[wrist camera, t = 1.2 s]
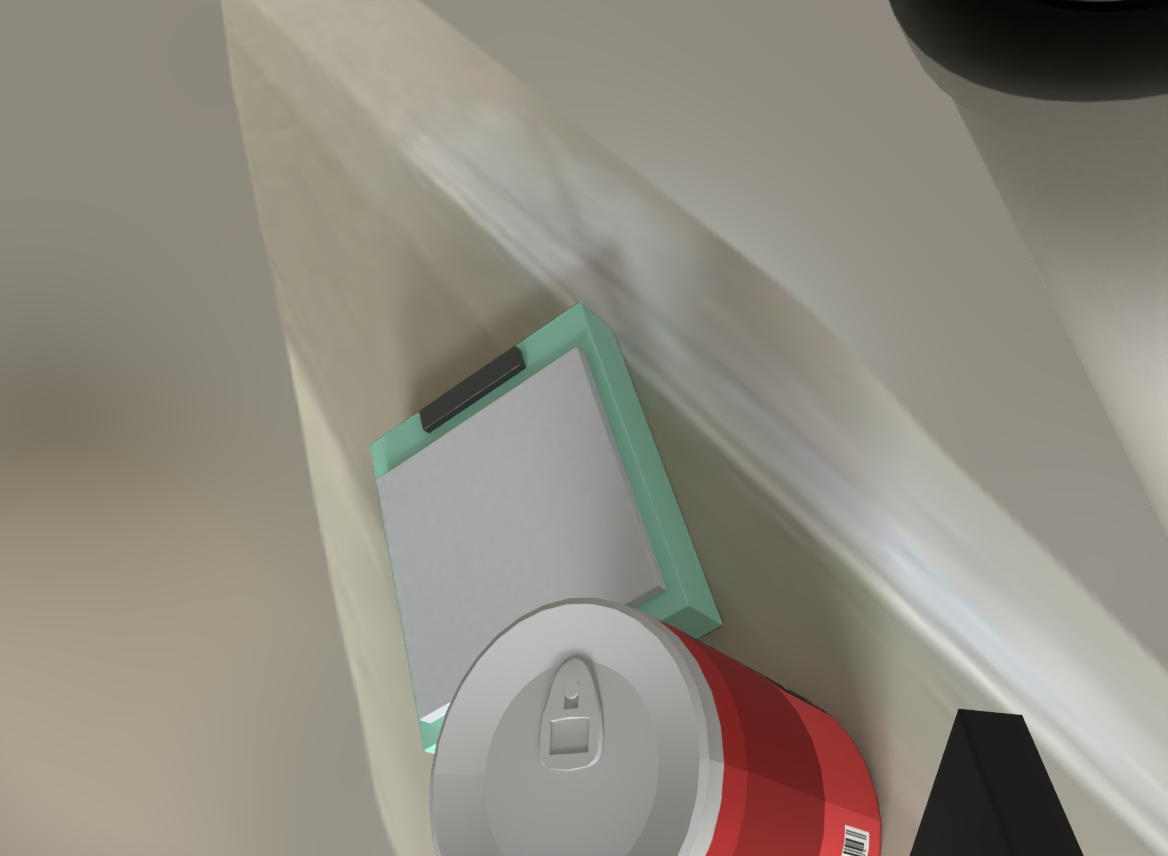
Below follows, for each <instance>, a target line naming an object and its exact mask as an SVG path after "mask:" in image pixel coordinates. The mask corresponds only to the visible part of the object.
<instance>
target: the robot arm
mask: <svg viewBox="0 0 1168 856" xmlns="http://www.w3.org/2000/svg"><path fill="white" fill-rule="evenodd" d="M1034 1H1037V2H1039V3H1042V4H1046V5H1050V6H1054V7H1057V8H1063V9H1069V10H1076V11H1090V12H1119V11H1129V10H1140V9H1146V8H1152V7H1158V6H1164V5H1168V0H1034ZM910 856H1083V853H1082V851H1081V849H1080V847H1079V844H1078V842H1077V840H1076V837H1075V835H1074V833H1073V830H1072V828H1071V826H1070V824H1069V821H1068V819H1067V817H1066V814H1065V812H1064V810H1063V808H1062V805H1061V803H1060V801H1059V798H1058V796H1057V794H1056V792H1055V789H1054V787H1053V785H1052V782H1051V780H1050V778H1049V776H1048V773H1047V771H1046V769H1045V766H1044V764H1043V762H1042V760H1041V757H1040V755H1039V753H1038V750H1037V748H1036V746H1035V744H1034V741H1033V739H1032V737H1031V734H1030V732H1029V730H1028V728H1027V725H1026V723H1025V721H1024V718H1023V716H1022V715H1016V714H1006V713H996V712H985V711H975V710H965V709H958V712H957V715H956V718H955V721H954V724H953V727H952V730H951V733H950V736H949V739H948V742H947V745H946V748H945V751H944V754H943V757H942V760H941V763H940V766H939V769H938V772H937V775H936V778H935V781H934V784H933V787H932V790H931V793H930V796H929V799H928V802H927V805H926V808H925V811H924V814H923V817H922V820H921V823H920V826H919V829H918V832H917V835H916V838H915V841H914V844H913V847H912V850H911V853H910Z"/></svg>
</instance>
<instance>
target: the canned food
mask: <svg viewBox="0 0 1168 856" xmlns="http://www.w3.org/2000/svg"><path fill="white" fill-rule="evenodd" d="M430 817H431V827H432V836H433V843H434V847H435V850H436V854H437V856H881V830H882V825H881V818H880V812H879V805H878V798H877V795H876V792H875V789H874V786H873V784H872V781H871V778H870V775H869V772H868V769H867V766H866V764H865V762H864V760H863V758H862V757H861V755H860V753H859V751H858V749H857V748H856V746H855V744H854V742H853V740H852V739H851V738H850V737H849V736H848V734H847V733H846V732H845V731H844V729H843V728H842V727H841V726H840V725H839V723H838V722H837V721H836V720H835V719H834V718H832V717H831V716H830V715H829V714H828V713H826V712H825V711H824V710H823V709H821V708H820V707H819V706H818V705H816V704H815V703H813V702H811V701H809V700H807V699H805V698H804V697H802V696H800V695H798V694H796V693H794V692H793V691H791V690H789V689H787V688H785V687H783V686H782V685H780V684H778V683H776V682H774V681H772V680H771V679H769V678H767V677H765V676H763V675H761V674H760V673H758V672H756V671H754V670H752V669H750V668H749V667H747V666H745V665H743V664H741V663H740V662H738V661H736V660H734V659H732V658H730V657H729V656H727V655H725V654H723V653H721V652H719V651H718V650H716V649H714V648H712V647H710V646H708V645H707V644H705V643H703V642H701V641H699V640H697V639H696V638H694V637H692V636H690V635H688V634H686V633H685V632H683V631H681V630H679V629H677V628H675V627H673V626H671V625H669V624H667V623H665V622H663V621H661V620H659V619H657V618H654V617H652V616H650V615H648V614H646V613H644V612H642V611H640V610H638V609H636V608H634V607H631V606H627V605H623V604H621V603H618V602H613V601H609V600H604V599H600V598H595V597H592V598H568V599H564V600H560V601H557V602H553V603H549V604H545V605H543V606H541V607H539V608H537V609H535V610H533V611H531V612H529V613H527V614H525V615H523V616H521V617H519V618H518V619H517V620H515V621H514V622H513V623H512V624H510V625H509V626H508V627H506V628H505V629H504V630H503V631H501V632H500V633H499V634H497V635H496V637H495V638H494V639H493V640H492V641H491V642H490V643H489V644H488V645H487V646H486V648H485V649H484V650H483V651H482V652H481V653H480V654H479V655H478V656H477V658H476V659H475V661H474V662H473V664H472V665H471V667H470V668H469V670H468V671H467V673H466V674H465V676H464V677H463V679H462V680H461V682H460V684H459V686H458V688H457V690H456V692H455V694H454V696H453V698H452V700H451V702H450V705H449V707H448V709H447V711H446V714H445V717H444V720H443V723H442V726H441V730H440V733H439V736H438V739H437V742H436V748H435V754H434V759H433V765H432V771H431V782H430Z"/></svg>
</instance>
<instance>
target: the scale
mask: <svg viewBox="0 0 1168 856" xmlns="http://www.w3.org/2000/svg"><path fill="white" fill-rule="evenodd" d="M370 450H371V456H372V461H373V467H374V472H375V478H376V484H377V489H378V495H379V500H380V506H381V512H382V517H383V523H384V529H385V534H386V540H387V545H388V551H389V557H390V562H391V568H392V574H393V579H394V585H395V590H396V596H397V602H398V607H399V613H400V618H401V624H402V630H403V635H404V641H405V647H406V652H407V658H408V663H409V669H410V675H411V680H412V686H413V691H414V697H415V703H416V708H417V714H418V720H419V725H420V731H421V736H422V742H423V748H424V751H425V752H429V753H433V754H435V748H436V742H437V739H438V736H439V733H440V730H441V726H442V723H443V720H444V717H445V714H446V711H447V709H448V707H449V705H450V702H451V700H452V698H453V696H454V694H455V692H456V690H457V688H458V686H459V684H460V682H461V680H462V679H463V677H464V676H465V674H466V673H467V671H468V670H469V668H470V667H471V665H472V664H473V662H474V661H475V659H476V658H477V656H478V655H479V654H480V653H481V652H482V651H483V650H484V649H485V648H486V646H487V645H488V644H489V643H490V642H491V641H492V640H493V639H494V638H495V637H496V635H497V634H499V633H500V632H501V631H503V630H504V629H505V628H506V627H508V626H509V625H510V624H512V623H513V622H514V621H515V620H517V619H518V618H519V617H521V616H523V615H525V614H527V613H529V612H531V611H533V610H535V609H537V608H539V607H541V606H543V605H545V604H549V603H553V602H557V601H560V600H564V599H568V598H592V597H595V598H600V599H604V600H609V601H613V602H618V603H621V604H623V605H627V606H631V607H634V608H636V609H638V610H640V611H642V612H644V613H646V614H648V615H650V616H652V617H654V618H657V619H659V620H661V621H663V622H665V623H667V624H669V625H671V626H673V627H675V628H677V629H679V630H681V631H683V632H685V633H686V634H688V635H690V636H692V637H694V638H696V639H697V638H699V637H701V636H703V635H705V634H707V633H708V632H710V631H712V630H714V629H716V628H718V627H720V626H721V625H722V621H721V618H720V616H719V613H718V610H717V608H716V605H715V602H714V600H713V597H712V594H711V592H710V589H709V586H708V584H707V581H706V578H705V576H704V573H703V570H702V568H701V565H700V562H699V560H698V557H697V554H696V552H695V549H694V546H693V544H692V541H691V538H690V536H689V533H688V530H687V528H686V525H685V522H684V519H683V517H682V514H681V511H680V509H679V506H678V503H677V501H676V498H675V495H674V493H673V490H672V487H671V485H670V482H669V479H668V477H667V474H666V471H665V469H664V466H663V463H662V461H661V458H660V455H659V453H658V450H657V447H656V445H655V442H654V439H653V437H652V434H651V431H650V429H649V426H648V423H647V421H646V418H645V415H644V413H643V410H642V407H641V405H640V402H639V399H638V397H637V394H636V391H635V389H634V386H633V383H632V381H631V378H630V375H629V373H628V370H627V367H626V365H625V362H624V359H623V357H622V354H621V351H620V349H619V346H618V343H617V341H616V338H615V335H614V333H613V330H612V329H611V328H610V327H609V326H608V325H607V324H605V323H604V322H603V321H602V320H601V319H600V318H599V317H597V316H596V315H595V314H594V313H593V312H592V311H590V310H589V309H588V308H587V307H586V306H585V305H584V304H582V303H581V302H578V303H577V304H575V305H574V306H572V307H571V308H570V309H568V310H567V311H565V312H564V313H562V314H561V315H559V316H558V317H556V318H555V319H553V320H552V321H551V322H549V323H548V324H546V325H545V326H543V327H542V328H540V329H539V330H537V331H536V332H534V333H533V334H531V335H530V336H529V337H527V338H526V339H524V340H523V341H521V342H520V343H518V344H517V345H515V346H514V347H512V348H511V349H510V350H508V351H507V352H505V353H504V354H502V355H501V356H499V357H498V358H496V359H495V360H493V361H492V362H491V363H489V364H488V365H486V366H485V367H483V368H482V369H480V370H479V371H477V372H476V373H474V374H473V375H472V376H470V377H469V378H467V379H466V380H464V381H463V382H461V383H460V384H458V385H457V386H455V387H454V388H453V389H451V390H450V391H448V392H447V393H445V394H444V395H442V396H441V397H439V398H438V399H436V400H435V401H434V402H432V403H431V404H429V405H428V406H426V407H425V408H423V409H422V410H420V411H419V412H417V413H416V414H415V415H413V416H412V417H410V418H409V419H407V420H406V421H404V422H403V423H401V424H400V425H398V426H397V427H395V428H394V429H393V430H391V431H390V432H388V433H387V434H385V435H384V436H382V437H381V438H379V439H378V440H376V441H375V442H374V443H372V444H371V445H370Z"/></svg>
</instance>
